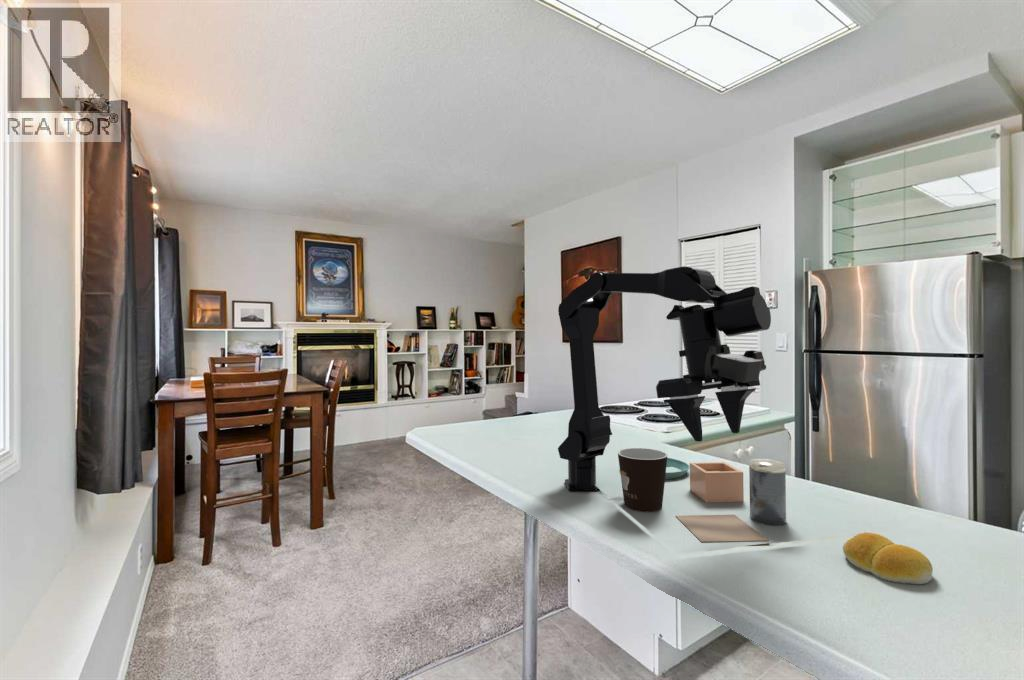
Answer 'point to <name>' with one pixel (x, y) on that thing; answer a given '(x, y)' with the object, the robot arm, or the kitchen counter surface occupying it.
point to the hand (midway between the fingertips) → (717, 437)
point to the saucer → (676, 464)
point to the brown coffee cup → (642, 478)
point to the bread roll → (888, 559)
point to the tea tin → (767, 491)
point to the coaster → (721, 529)
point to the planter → (716, 482)
